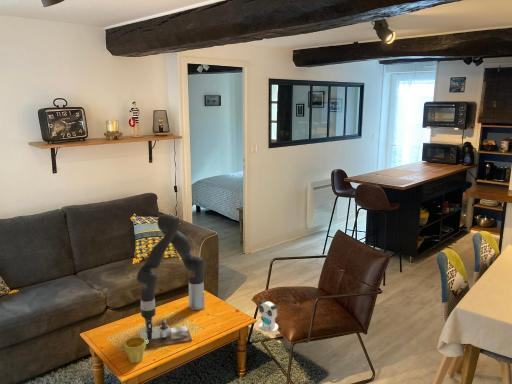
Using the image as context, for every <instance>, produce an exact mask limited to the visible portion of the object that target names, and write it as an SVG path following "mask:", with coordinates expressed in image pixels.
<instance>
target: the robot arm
mask: <svg viewBox="0 0 512 384" xmlns="http://www.w3.org/2000/svg"><path fill="white" fill-rule="evenodd" d="M156 225H157V227H158V229H159V230H160V231H161V233H163V235H164V236H163V237H162V239H161V240H160V241H158V242H157V243H156V244H155V245H154V246H153V247H152V249H150V252H149V254H148V257H147V259H146V261H145V262H144V264H143V265H142V266H141V268H140V269H139V270H138V272H137V274H136V281H137V282H138V283H139V284H143V285H145V287H142V288H141V289H140V315H141V317H142V318H144V324H145V328H146V329H147V338H148V339H152V327H154V326H153V321H154V320H153V317H155V316H156V313H157V312H156V299H155V290H156V286H157V282H158V275H157V274H156V272H154V271H152V270H153V269H158V268H159V267H160V265H161V262H162V260H163V258H164V255H165V254H166V253H165V252H166V251H167V249H168V247H169V246H170V244H171V245H172V246H173V248H174V250H175V251H176V253H177V254H178V256H179V258H180V259H181V261H182V262H183V265H184V267H185V268H186V270H187V271H190V272H194V273H195V274H191V275H190V276H189V277H188V308H189V309H190V310H192V311H200V310H202V309H205V305H206V304H205V302H206V301H205V293H204V292H205V289H204V288H205V287H204V286H205V285H204V283H205V282H204V279H205V269H206V267H205V266H206V265H205V264H206V263H205V258H203V257H201V256H196V255H192V254H191V249H192V245H191V242H190V241H189V239H188V238H187V236H186V235H185V234H183V233H182V232H181V231H179V228H180V226H181V219H180V218H179V217H178V216H176V215H172V214H160V215H159V216H158V218H157V222H156ZM148 330H149V331H148Z"/></svg>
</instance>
